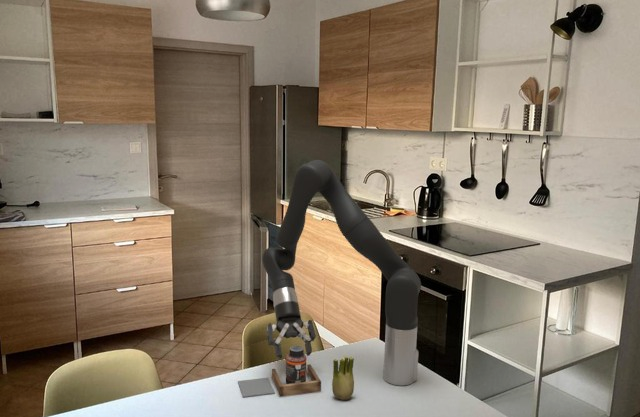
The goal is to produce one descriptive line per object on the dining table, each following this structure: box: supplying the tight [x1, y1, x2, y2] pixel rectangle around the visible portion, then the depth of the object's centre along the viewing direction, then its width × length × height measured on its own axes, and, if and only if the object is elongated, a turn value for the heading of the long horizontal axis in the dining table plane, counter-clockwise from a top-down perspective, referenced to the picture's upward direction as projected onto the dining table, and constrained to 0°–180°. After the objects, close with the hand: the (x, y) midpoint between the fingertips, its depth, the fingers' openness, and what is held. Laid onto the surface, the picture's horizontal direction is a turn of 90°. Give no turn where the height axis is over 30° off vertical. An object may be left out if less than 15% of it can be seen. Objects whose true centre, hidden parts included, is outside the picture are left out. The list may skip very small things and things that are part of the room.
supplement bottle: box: [285, 345, 308, 384], centre depth 154 cm, size 6×6×11 cm
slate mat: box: [237, 377, 276, 399], centre depth 153 cm, size 9×9×1 cm
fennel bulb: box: [331, 355, 355, 401], centre depth 148 cm, size 6×5×12 cm
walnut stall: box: [271, 364, 322, 398], centre depth 155 cm, size 12×11×3 cm
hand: (294, 356), depth 156 cm, fingers open, 8 cm apart
